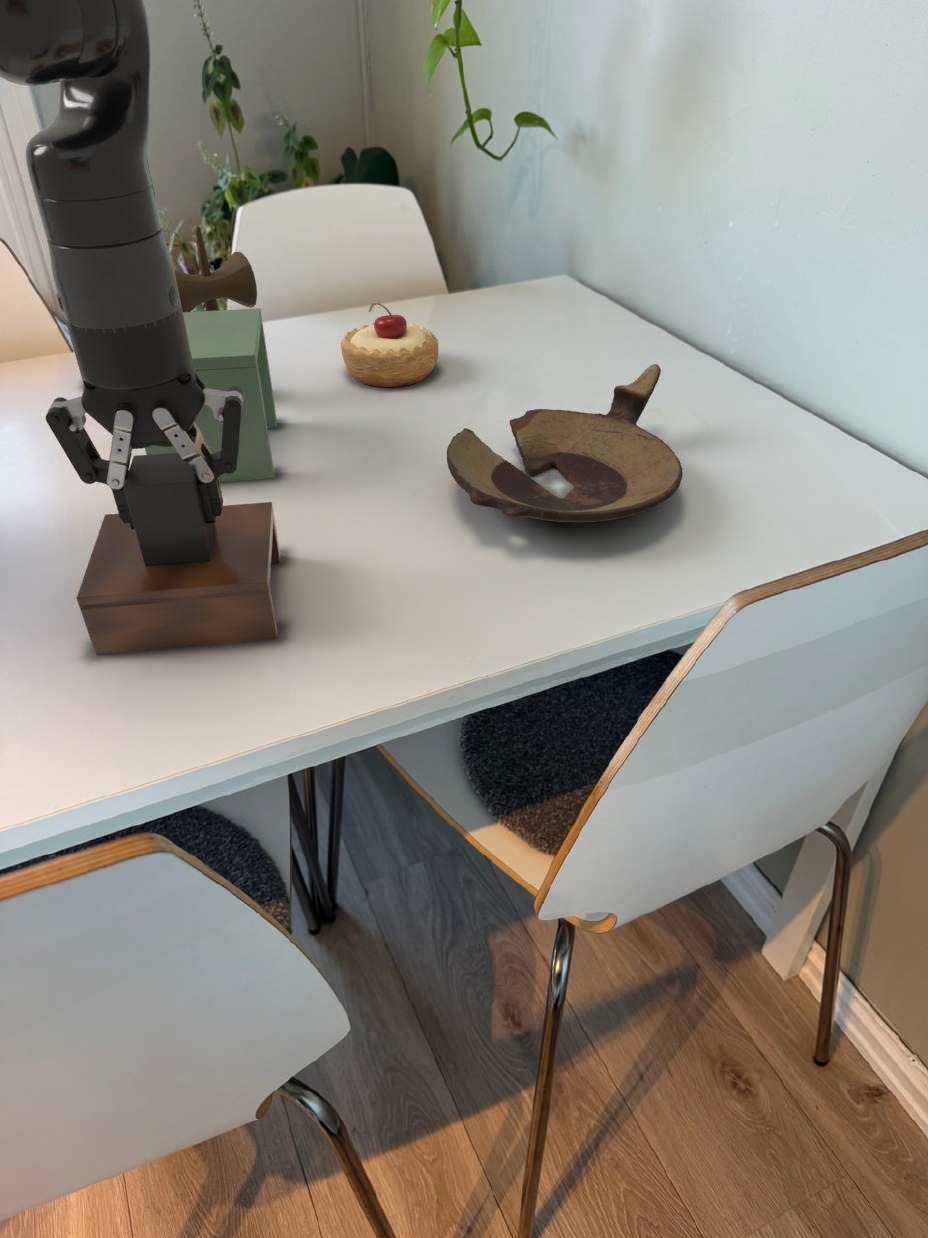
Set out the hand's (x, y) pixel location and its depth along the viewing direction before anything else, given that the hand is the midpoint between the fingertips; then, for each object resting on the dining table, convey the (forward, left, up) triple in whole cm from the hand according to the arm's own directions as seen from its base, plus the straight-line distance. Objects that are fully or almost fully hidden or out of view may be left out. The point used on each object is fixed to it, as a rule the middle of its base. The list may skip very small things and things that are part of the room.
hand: (174, 520), depth 70 cm
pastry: (+20, +46, -9) cm, 51 cm away
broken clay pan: (+37, +14, -9) cm, 40 cm away
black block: (0, 0, -2) cm, 2 cm away
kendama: (0, +41, -9) cm, 42 cm away
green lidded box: (0, +27, -8) cm, 28 cm away
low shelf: (0, 0, -8) cm, 8 cm away
